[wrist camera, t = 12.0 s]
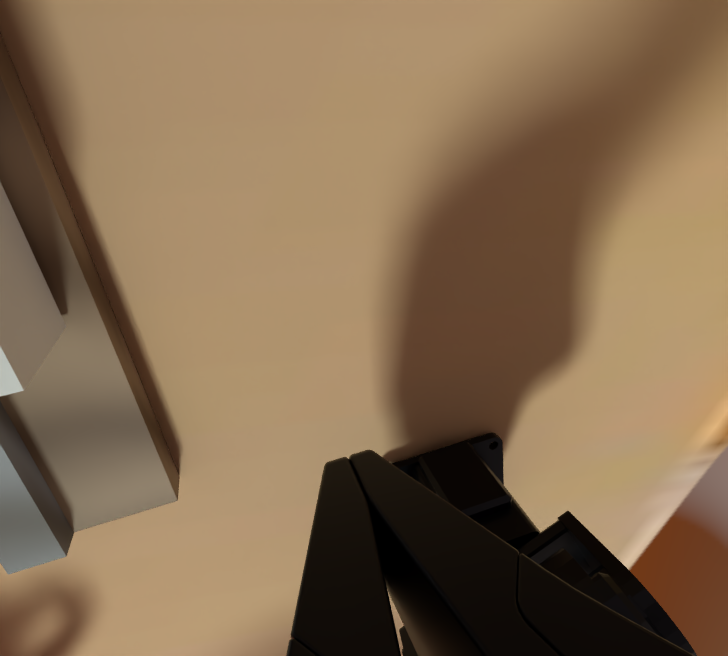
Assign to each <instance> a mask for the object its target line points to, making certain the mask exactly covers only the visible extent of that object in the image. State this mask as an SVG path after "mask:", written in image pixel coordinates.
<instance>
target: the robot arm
mask: <svg viewBox="0 0 728 656" xmlns="http://www.w3.org/2000/svg"><path fill="white" fill-rule="evenodd" d="M492 442H493V443H492ZM491 443H492V444H491ZM490 444H491V445H490ZM387 589H388V591H387ZM388 592H389V594H390V596H391V598H392V601H393V603H394V605H395V607H396V609H397V611H398V613H399V616H400V618H401V620H402V622H403V624H404V626H403V627H402V628H400V629H399V631H400V636H401V640H402V645H403V649H402V653H403V656H697V655H696V653H695V652H694V650H693V648H692V647H691V645H690V644H689V642H688V641H687V640H686V638H685V637H684V636H683V634H682V633H681V631H680V630H679V629H678V627H677V626H676V625H675V624H674V622H673V621H672V620H671V618H670V617H669V616H668V615H667V613H666V612H665V611H664V610H663V608H662V607H661V606H660V605H659V604H658V602H657V601H656V600H655V599H654V598H653V596H652V595H651V594H650V593H649V592H648V591H647V589H646V588H645V587H644V586H643V585H642V584H641V583H640V582H639V581H638V579H637V578H636V577H635V576H634V575H633V574H632V573H631V572H630V571H629V570H628V569H627V568H626V567H625V566H624V565H623V564H622V563H621V562H620V561H619V560H618V559H617V558H616V557H615V556H614V555H613V554H612V553H611V552H610V551H609V550H608V549H607V548H606V547H605V546H604V545H603V544H602V543H601V542H600V541H599V540H598V539H597V538H596V537H595V536H594V535H592V534H591V533H590V532H589V531H588V530H587V529H586V528H585V527H584V526H583V525H582V524H581V523H580V522H579V521H578V520H577V519H576V518H575V517H574V516H573V515H572V514H571V513H570V512H569V511H567V512H565V513H564V514H562V515H561V516H559V517H558V521H556V522H555V523H554V524H552V525H551V526H549V527H548V528H547V529H545V530H544V531H542V532H541V533H540V531H539V530H538V529H537V527H536V526H535V525H534V524H533V522H532V521H531V520H530V518H529V517H528V516H527V515H526V513H525V512H524V511H523V509H522V508H521V507H520V506H519V504H518V503H517V502H516V500H515V499H514V498H513V497H512V495H511V494H510V493H509V492H508V490H507V489H506V488H505V486H504V482H503V445H502V440H501V439H500V438H499V436H498V435H497V434H495V433H489V434H486V435H482V436H479V437H476V438H473V439H470V440H466V441H463V442H460V443H457V444H454V445H451V446H447V447H444V448H441V449H438V450H435V451H432V452H428V453H425V454H422V455H419V456H416V457H413V458H409V459H406V460H403V461H400V462H397V463H394V464H391V463H390V462H389V461H387V460H386V459H384V458H383V457H381V456H380V455H378V454H377V453H375V452H374V451H372V450H365V451H362V452H359V453H356V454H352V455H351V456H350V457H349V459H348V458H347V457H343V458H339V459H336V460H333V461H329V462H327V463H326V464H325V466H324V470H323V475H322V480H321V485H320V490H319V495H318V500H317V505H316V510H315V515H314V520H313V525H312V530H311V535H310V540H309V545H308V550H307V556H306V561H305V566H304V571H303V576H302V581H301V586H300V591H299V596H298V601H297V606H296V611H295V616H294V621H293V626H292V631H291V638H292V639H291V640H290V641H289V645H288V650H287V655H286V656H401V653H400V648H399V643H398V639H397V634H396V629H395V624H394V620H393V615H392V610H391V605H390V601H389V596H388Z"/></svg>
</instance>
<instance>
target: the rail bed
mask: <svg viewBox="0 0 728 656" xmlns="http://www.w3.org/2000/svg"><path fill="white" fill-rule="evenodd" d="M0 182H1V184H2V186H3V188H4V191H5V193H6V195H7V197H8V199H9V202H10V204H11V206H12V208H13V210H14V213H15V215H16V217H17V219H18V221H19V224H20V226H21V228H22V230H23V232H24V235H25V237H26V239H27V241H28V243H29V246H30V248H31V250H32V252H33V254H34V257H35V259H36V261H37V263H38V265H39V267H40V270H41V272H42V274H43V276H44V278H45V281H46V283H47V285H48V287H49V289H50V292H51V294H52V296H53V298H54V300H55V303H56V305H57V307H58V309H59V311H60V314H61V316H62V318H63V320H64V322H65V325H66V328H65V329H64V331H63V332H62V334H61V335H60V337H59V338H58V340H57V341H56V343H55V344H54V346H53V347H52V349H51V350H50V352H49V353H48V355H47V356H46V358H45V359H44V361H43V362H42V364H41V365H40V367H39V369H38V370H37V372H36V373H35V375H34V376H33V378H32V379H31V381H30V382H29V384H28V385H27V387H26V388H25V390H24V391H20V392H16V393H12V394H8V395H4V396H0V563H1V565H2V566H3V568H4V569H5V571H6V572H7V573H8V574H12V573H15V572H18V571H21V570H24V569H28V568H31V567H34V566H37V565H40V564H44V563H47V562H50V561H53V560H56V559H60V558H63V557H66V556H67V553H68V550H69V547H70V543H71V540H72V537H73V534H74V532H77V531H80V530H83V529H86V528H90V527H93V526H96V525H100V524H103V523H106V522H109V521H113V520H116V519H119V518H123V517H126V516H129V515H133V514H136V513H139V512H142V511H146V510H149V509H152V508H156V507H159V506H162V505H165V504H169V503H172V502H175V501H178V490H179V474H178V472H177V469H176V467H175V464H174V462H173V459H172V457H171V454H170V452H169V450H168V447H167V445H166V442H165V440H164V437H163V435H162V432H161V430H160V427H159V425H158V422H157V420H156V417H155V415H154V412H153V410H152V407H151V405H150V402H149V400H148V397H147V395H146V393H145V390H144V388H143V385H142V383H141V380H140V378H139V375H138V373H137V370H136V368H135V365H134V363H133V360H132V358H131V355H130V353H129V350H128V348H127V345H126V343H125V341H124V338H123V336H122V333H121V331H120V328H119V326H118V323H117V321H116V318H115V316H114V313H113V311H112V308H111V306H110V303H109V301H108V298H107V296H106V293H105V291H104V288H103V286H102V284H101V281H100V279H99V276H98V274H97V271H96V269H95V266H94V264H93V261H92V259H91V256H90V254H89V251H88V249H87V246H86V244H85V241H84V239H83V236H82V234H81V231H80V229H79V227H78V224H77V222H76V219H75V217H74V214H73V212H72V209H71V207H70V204H69V202H68V199H67V197H66V194H65V192H64V189H63V187H62V184H61V182H60V179H59V177H58V175H57V172H56V170H55V167H54V165H53V162H52V160H51V157H50V155H49V152H48V150H47V147H46V145H45V142H44V140H43V137H42V135H41V132H40V130H39V127H38V125H37V122H36V120H35V118H34V115H33V113H32V110H31V108H30V105H29V103H28V100H27V98H26V95H25V93H24V90H23V88H22V85H21V83H20V80H19V78H18V75H17V73H16V70H15V68H14V65H13V63H12V61H11V58H10V56H9V53H8V51H7V48H6V46H5V43H4V41H3V38H2V36H1V33H0Z"/></svg>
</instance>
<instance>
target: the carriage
mask: <svg viewBox="0 0 728 656" xmlns="http://www.w3.org/2000/svg"><path fill="white" fill-rule="evenodd" d="M65 328H66V325H65V322H64V320H63V318H62V316H61V314H60V311H59V309H58V307H57V305H56V303H55V300H54V298H53V296H52V294H51V292H50V289H49V287H48V285H47V283H46V281H45V278H44V276H43V274H42V272H41V270H40V267H39V265H38V263H37V261H36V259H35V257H34V254H33V252H32V250H31V248H30V246H29V243H28V241H27V239H26V237H25V235H24V232H23V230H22V228H21V226H20V224H19V221H18V219H17V217H16V215H15V213H14V210H13V208H12V206H11V204H10V202H9V199H8V197H7V195H6V193H5V191H4V188H3V186H2V184H1V182H0V396H4V395H8V394H12V393H16V392H20V391H24V390H25V388H26V387H27V385H28V384H29V382H30V381H31V379H32V378H33V376H34V375H35V373H36V372H37V370H38V369H39V367H40V365H41V364H42V362H43V361H44V359H45V358H46V356H47V355H48V353H49V352H50V350H51V349H52V347H53V346H54V344H55V343H56V341H57V340H58V338H59V337H60V335H61V334H62V332H63V331H64V329H65Z"/></svg>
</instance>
